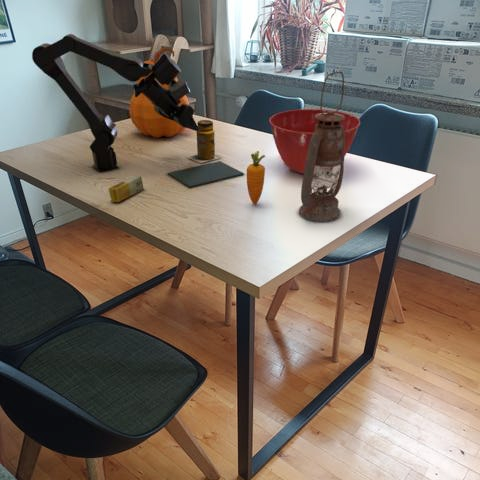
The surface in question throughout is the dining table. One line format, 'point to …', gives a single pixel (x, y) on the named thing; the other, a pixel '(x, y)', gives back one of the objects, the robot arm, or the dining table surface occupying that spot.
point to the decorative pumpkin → (147, 116)
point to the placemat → (205, 174)
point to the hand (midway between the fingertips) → (191, 126)
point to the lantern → (324, 166)
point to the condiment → (205, 142)
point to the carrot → (255, 178)
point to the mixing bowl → (303, 134)
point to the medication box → (126, 189)
